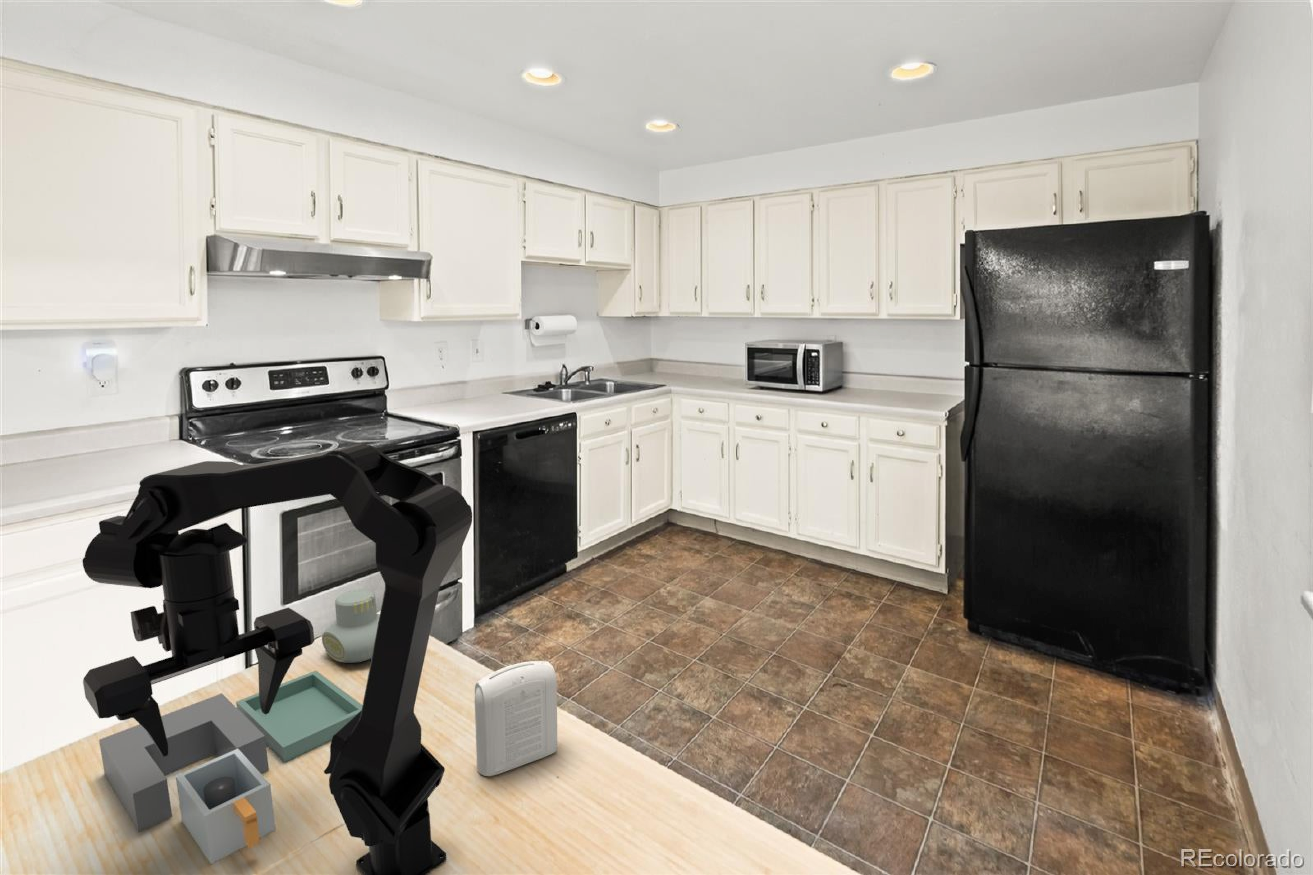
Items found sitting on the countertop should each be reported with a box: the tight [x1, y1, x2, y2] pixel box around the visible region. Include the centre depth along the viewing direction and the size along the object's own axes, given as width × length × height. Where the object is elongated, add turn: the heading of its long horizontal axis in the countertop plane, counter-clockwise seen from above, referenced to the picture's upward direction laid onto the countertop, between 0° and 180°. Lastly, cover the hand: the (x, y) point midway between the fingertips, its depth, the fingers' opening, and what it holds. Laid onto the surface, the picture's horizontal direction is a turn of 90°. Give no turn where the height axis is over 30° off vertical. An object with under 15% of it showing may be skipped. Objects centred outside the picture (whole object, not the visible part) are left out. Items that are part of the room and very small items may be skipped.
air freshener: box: [321, 588, 380, 664], centre depth 108 cm, size 11×8×10 cm
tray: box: [235, 670, 363, 764], centre depth 91 cm, size 15×11×2 cm
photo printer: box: [474, 660, 559, 777], centre depth 83 cm, size 10×4×12 cm, turn 123°
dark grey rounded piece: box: [203, 777, 236, 810], centre depth 73 cm, size 3×3×4 cm
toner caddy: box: [175, 749, 276, 865], centre depth 71 cm, size 12×6×6 cm, turn 50°
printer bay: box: [98, 692, 270, 833], centre depth 80 cm, size 14×13×5 cm
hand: (217, 732), depth 70 cm, fingers open, 9 cm apart
